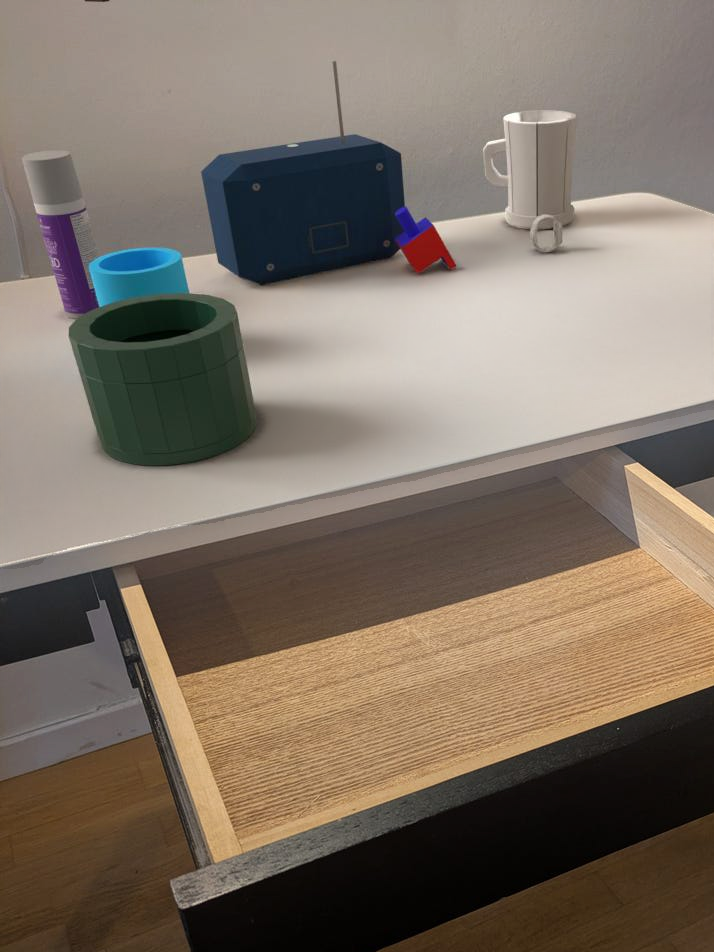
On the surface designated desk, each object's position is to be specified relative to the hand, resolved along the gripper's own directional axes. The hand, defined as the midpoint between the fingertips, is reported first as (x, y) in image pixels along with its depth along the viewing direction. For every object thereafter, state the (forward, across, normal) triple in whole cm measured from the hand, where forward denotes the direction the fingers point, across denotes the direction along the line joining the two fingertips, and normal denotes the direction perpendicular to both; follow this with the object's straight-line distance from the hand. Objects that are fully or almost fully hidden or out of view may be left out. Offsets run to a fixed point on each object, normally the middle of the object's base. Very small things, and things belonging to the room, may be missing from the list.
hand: (36, 8), depth 89 cm
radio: (+27, +21, -11) cm, 35 cm away
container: (+27, -3, -1) cm, 27 cm away
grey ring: (+27, +38, -32) cm, 56 cm away
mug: (+27, -7, -14) cm, 31 cm away
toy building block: (+27, +26, -23) cm, 44 cm away
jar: (+27, -18, -32) cm, 45 cm away
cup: (+26, +48, -24) cm, 60 cm away
